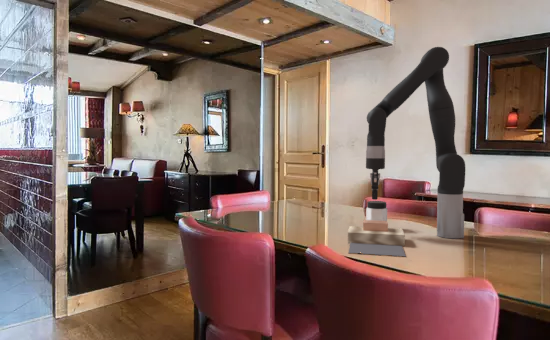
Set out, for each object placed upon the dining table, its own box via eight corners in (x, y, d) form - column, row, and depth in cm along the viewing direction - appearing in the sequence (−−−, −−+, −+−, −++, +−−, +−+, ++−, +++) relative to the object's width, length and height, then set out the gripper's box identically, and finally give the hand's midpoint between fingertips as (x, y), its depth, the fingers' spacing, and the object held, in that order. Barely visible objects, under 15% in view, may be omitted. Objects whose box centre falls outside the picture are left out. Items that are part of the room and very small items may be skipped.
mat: (401, 246, 128) (401, 245, 128) (405, 257, 114) (405, 256, 114) (350, 243, 133) (350, 242, 133) (348, 253, 119) (348, 252, 119)
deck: (401, 238, 140) (401, 228, 140) (404, 246, 128) (404, 235, 128) (349, 236, 145) (349, 226, 145) (347, 243, 133) (347, 232, 133)
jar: (379, 231, 153) (379, 203, 153) (363, 228, 159) (363, 202, 159) (390, 228, 160) (390, 201, 159) (373, 226, 166) (374, 200, 165)
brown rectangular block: (387, 228, 140) (387, 220, 140) (387, 231, 134) (387, 223, 134) (363, 227, 142) (363, 219, 142) (363, 230, 137) (363, 222, 136)
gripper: (385, 157, 140) (384, 201, 140) (384, 157, 152) (383, 197, 153) (365, 157, 142) (365, 200, 142) (366, 157, 154) (365, 197, 155)
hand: (374, 199), depth 148 cm, fingers closed
